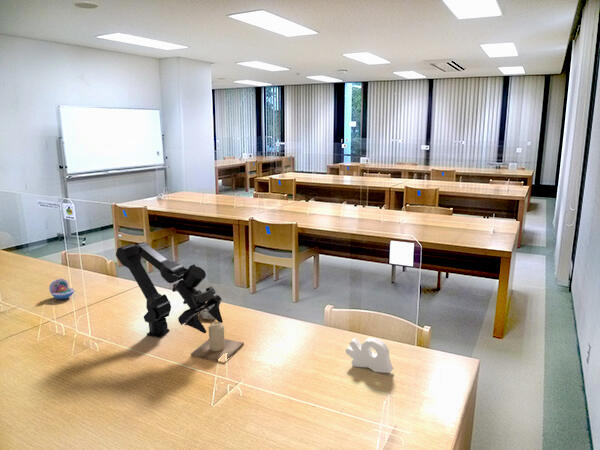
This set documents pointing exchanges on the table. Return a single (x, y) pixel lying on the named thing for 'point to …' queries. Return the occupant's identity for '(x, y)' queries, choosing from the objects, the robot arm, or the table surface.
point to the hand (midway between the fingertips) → (214, 327)
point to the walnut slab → (206, 353)
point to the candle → (216, 336)
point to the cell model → (60, 289)
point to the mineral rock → (205, 314)
